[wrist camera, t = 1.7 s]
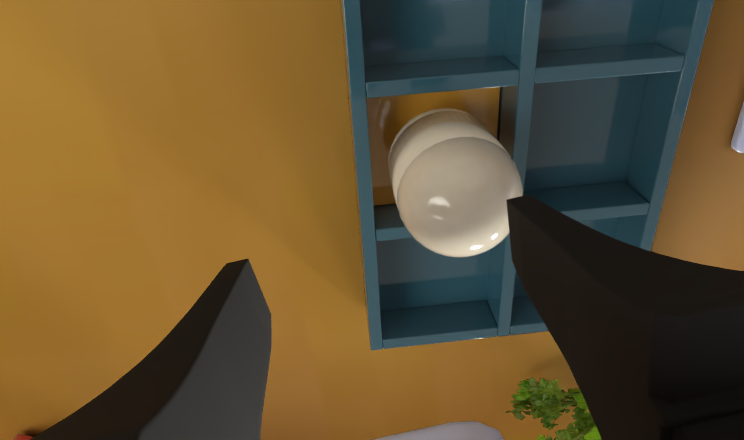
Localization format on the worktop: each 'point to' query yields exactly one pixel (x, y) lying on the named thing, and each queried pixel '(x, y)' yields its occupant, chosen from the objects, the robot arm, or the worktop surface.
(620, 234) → the teal compartment tray
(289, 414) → the worktop surface
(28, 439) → the cracker box
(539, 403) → the celery
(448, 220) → the egg
